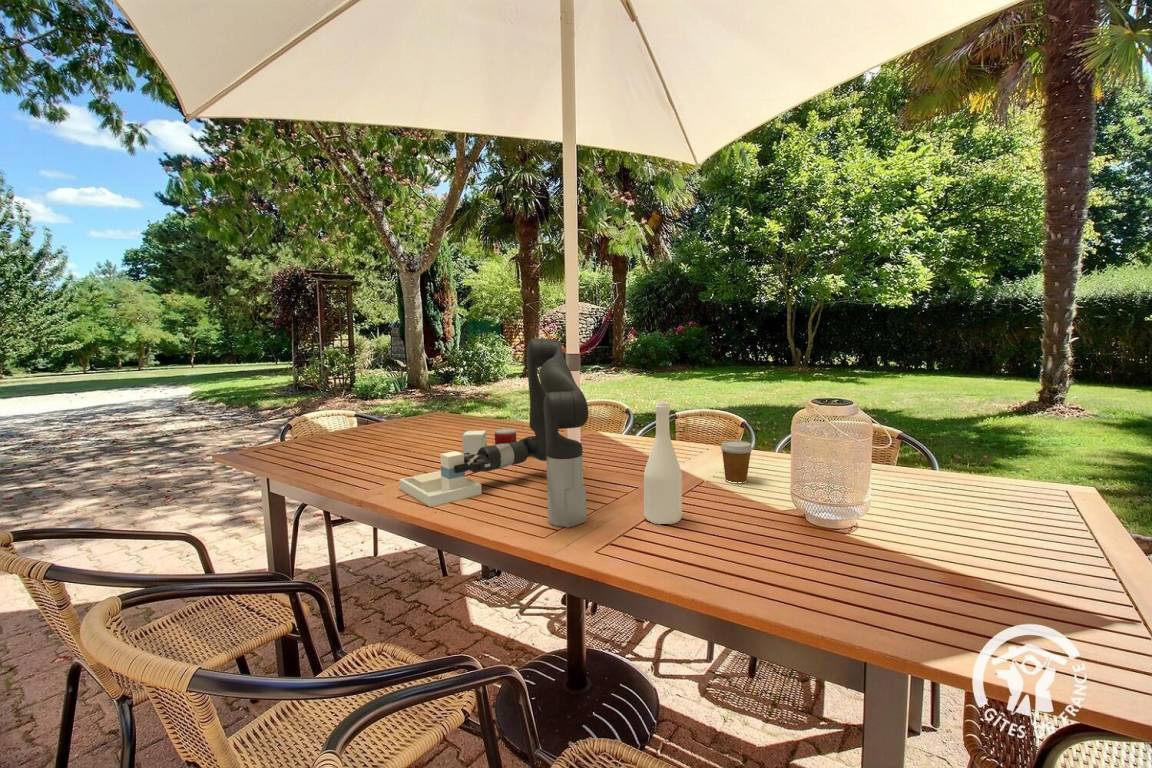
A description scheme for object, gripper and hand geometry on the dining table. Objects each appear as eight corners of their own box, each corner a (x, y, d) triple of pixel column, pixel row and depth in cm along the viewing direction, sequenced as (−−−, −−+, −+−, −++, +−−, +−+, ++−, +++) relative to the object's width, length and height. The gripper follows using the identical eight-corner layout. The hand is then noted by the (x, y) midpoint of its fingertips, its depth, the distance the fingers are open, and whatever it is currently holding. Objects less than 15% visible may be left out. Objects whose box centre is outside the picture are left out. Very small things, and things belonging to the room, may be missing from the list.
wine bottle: (659, 509, 142) (658, 399, 139) (689, 518, 136) (689, 402, 132) (636, 519, 136) (635, 403, 132) (667, 529, 129) (667, 407, 126)
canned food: (515, 461, 195) (514, 432, 194) (494, 462, 195) (492, 432, 194) (518, 456, 203) (517, 428, 202) (497, 456, 203) (496, 428, 202)
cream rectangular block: (452, 486, 163) (452, 475, 163) (421, 493, 157) (421, 482, 156) (442, 481, 168) (442, 471, 168) (412, 488, 162) (411, 477, 162)
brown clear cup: (718, 476, 171) (718, 439, 170) (748, 476, 170) (749, 440, 169) (722, 485, 162) (722, 446, 161) (754, 485, 161) (755, 447, 159)
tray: (481, 497, 155) (481, 484, 155) (430, 510, 145) (429, 496, 145) (448, 481, 172) (447, 469, 172) (399, 491, 162) (399, 479, 162)
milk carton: (465, 493, 156) (463, 454, 155) (449, 497, 153) (447, 457, 151) (457, 490, 160) (455, 451, 158) (442, 493, 157) (439, 454, 155)
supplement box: (484, 470, 185) (482, 434, 184) (463, 470, 185) (461, 434, 184) (488, 464, 192) (486, 430, 191) (467, 464, 192) (466, 430, 191)
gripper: (483, 441, 170) (436, 449, 159) (507, 448, 159) (458, 458, 148) (484, 464, 170) (437, 474, 160) (508, 473, 159) (459, 484, 149)
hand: (447, 466), depth 154 cm, fingers open, 8 cm apart
